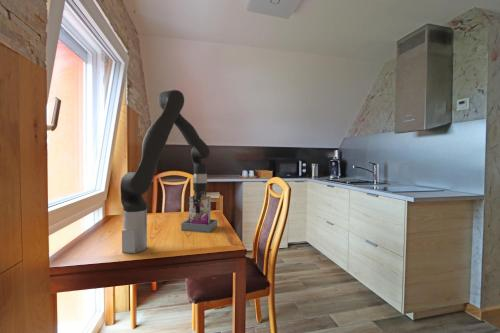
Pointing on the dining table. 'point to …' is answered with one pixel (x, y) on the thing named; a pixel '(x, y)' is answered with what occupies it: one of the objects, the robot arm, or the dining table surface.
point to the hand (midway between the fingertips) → (199, 211)
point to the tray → (199, 226)
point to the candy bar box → (204, 211)
